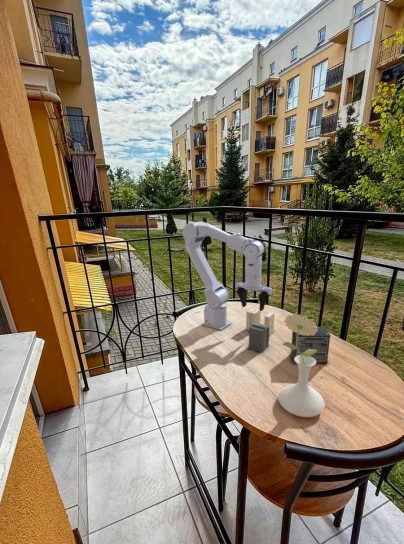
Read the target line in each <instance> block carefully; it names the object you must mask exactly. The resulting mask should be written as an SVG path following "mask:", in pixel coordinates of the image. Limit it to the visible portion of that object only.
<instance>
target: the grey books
mask: <svg viewBox="0 0 404 544" xmlns="http://www.w3.org/2000/svg"><path fill="white" fill-rule="evenodd" d="M269 327H270V326H267V325H264V323H260V324H259V323H253V324H252V326H251V327H249V330H248V349H249V350H252V351H254V352H258V353H263V352H264V351H265V350H266V349H267V348H269V343H270V335H269Z"/></svg>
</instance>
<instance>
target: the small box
mask: <svg viewBox="0 0 404 544" xmlns="http://www.w3.org/2000/svg"><path fill="white" fill-rule="evenodd" d="M316 327H317V330H318V331H317V332H316V333H315V335H309V336H307V335H305V336H304V335H301V334H299V335H298V340H297V347H298V349H299V351H300V353H301V354H302V353H303V352H305V351H306V350H308V349H313V350H317V352H316V353H315V354H313V355H311V357H313V358H314V359H315V360H316V364H317V365H327V364H328V362H329V361H328V359H329V350H330V344H331V343H330V341H331V334H330V332H329V331H328V330H327V328H326V326H316ZM296 338H297V332H293V331H292V334H291V344H293V345H295V346H296ZM298 355H300V354H299V352H298V350H297V348H296V349H295V350H292V349H290V356H291V359H292V361H293V364H297V363H296V362H295V360H294V359H295V357H296V356H298ZM316 364H315V365H316Z"/></svg>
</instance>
